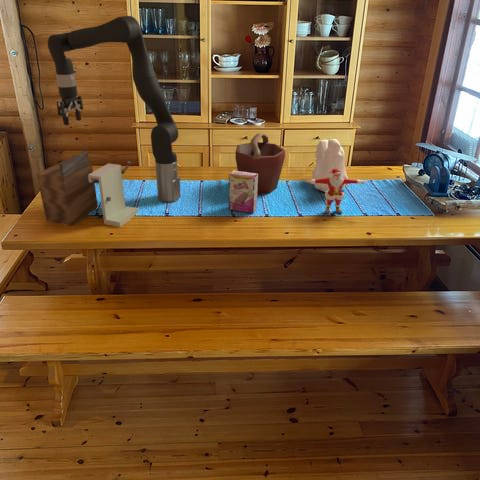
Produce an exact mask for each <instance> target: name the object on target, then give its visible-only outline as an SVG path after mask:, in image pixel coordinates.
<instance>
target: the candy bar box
mask: <svg viewBox="0 0 480 480" xmlns="http://www.w3.org/2000/svg"><path fill="white" fill-rule="evenodd" d="M228 177H229V178H228V179H229V181H228V182H229V183H228V210H229V211H235V212H241V213H247V214H254V213H255V212H256V211H257V208H258V194H257V188H258V174H256V173H249V172H242V171H238V170H234V169H233V170H231V171H230V173H229V174H228Z"/></svg>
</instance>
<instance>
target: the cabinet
mask: <svg viewBox="0 0 480 480" xmlns="http://www.w3.org/2000/svg"><path fill="white" fill-rule="evenodd" d="M92 172H94V170H93V163H92V162H90V159H89V152H88V151H86V150H85V151H82V152H79V153H78V154H76V155H74V156H72V157H70V158H68V159H66V158H65V159H64V160H62V161H59V163H56V164H54V165H52V166H50V167H48V168H46V169H43V170H41V171H40V172H37V173H36V176H37V180H38V186H39V191H40V196H41V200H42V201H41V202H42V207H43V211H44V216H45V217H44V218H45V221H46V222H49V223H50V222H51V223H54V224H55V223H56V224H60V225H66V226H69V227H70V226H71V227H72V226H74V225H75V224H76V223H78V222H80V221H81V220H82V219H84V218H85V217H86V216H88V215H89V213H90V212H91V213H93V212H94V211H96V210H97V209H98V208H99V205H98V199H97V192H96V185H95V184H96V183H95V182H96V181H93V182H91V183H90V182H89V179H88V175H89V174H90V173H92ZM97 207H98V208H97ZM96 208H97V209H96ZM95 209H96V210H95ZM93 210H94V211H93ZM92 211H93V212H92ZM91 213H90V214H91Z"/></svg>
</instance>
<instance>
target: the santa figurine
mask: <svg viewBox="0 0 480 480" xmlns="http://www.w3.org/2000/svg"><path fill="white" fill-rule="evenodd" d="M331 172H333V173H332V174H333V177H330V178H323V179H313V178H312V179H309V180H305V182H304V183H308V184H311V185H312V184H313V185H314V184H315V183H321V184H328V187H329V190H328V191H326V192H325V193H324V197H325V200H326V203H325V207H326V208H325V210H324V214H330V209H331V207H332V204H333V203H334V202H335V203H334V207H335V213H337V214H342V213H343V210H341V208H340V207H341V203H342V200H343V199H344V198H345V192H343V191H342V190H343V189H344V188H343V186H344V184H348V185H350V184H351V185H352V184H356V185H361V184H362V185H365V183H367V182H366V181H365V180H360V179H358V178H357V179H354V178H348V179H347V178H342V177H341V176H340V175H341V171H340V170H339V169H333V170H332V171H331ZM331 172H329V173H331ZM342 188H343V189H342ZM341 189H342V190H341Z"/></svg>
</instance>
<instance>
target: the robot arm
mask: <svg viewBox="0 0 480 480" xmlns="http://www.w3.org/2000/svg"><path fill="white" fill-rule="evenodd" d="M104 43H122V44H123V43H124V44H126V45H127V48H128V51H129V53H130V57H131V63H132V64H131V66H132V68H131V70H132V71H131V72H132V73H131V74H132V75H131V76H132V80H133V83H134V85H135V88H136V91H137V94H138V96H139V98H140V99H141V100H142V101H143V102H144V104H145V105H146V106H147V107H148V108H149V109H150V111H151V112H152V114H153V116H154V118H155V121H156V125H155V126H154V127H153V128H152V130H151V132H150V142H151V143H150V144H151V150H152V155H153V158H154V162H155V163H154V164H155V176H156V191H157V199H158V201H161V202H164V203H165V202H166V203H171V202H173V203H175V202H176V201H178V200H179V199H180V198H181V193H182V192H181V178H180V176H179V173H178V156H177V153H175V152H174V151H173V146H172V145H173V144H174V143H175V142H176V141H177V140H178V139H179V138H178V137H179V130H178V125H177V124H176V121H175V120H174V118H173V116H172V113H171V112H170V109H169V107H168V105H167V102H166V99H165V96H164V94H163V92H162V88H161V86H160V82H159V80H158V78H157V74H156V72H155V69H154V67H153V63H152V61H151V59H150V56H149V53H148V49H147V47H146V43H145V39H144V34H143V31H142V28H141V25H140V23H139V21H138V20H137V19H136V18H135V17H133V16H131V15H124V16H117V17H115V18H114V19H111V20H110V21H107V22H105V23H102V24H100V25H97V26H90V27H83V28H79V29H74V30H71V31H70V32H68V31H67V32H63V33H55V34H51V35H50V36H49V37H48V38H47V48H48V51H49V53H50V56H51V58H52V61H53V63H54V68H55V73H56V83H57V84H56V85H57V89H58V96H59V97H60V98H61V100H60V101H59V100H58V101H56V108H57V115H58V116H59V117H62V123H63V124H64V126H69V125H70V121H69V116H68V115H69V113H70V112H71V110H72V109H73V110H74V114H75V115H74V116H75V120H76V121H82V115H81V112H82V110H84V104H83V100H82V95H79V94H78V87H77V82H76V76H75V72H74V66H73V65H74V64H73V61H72V59H70V58H67V57H66V54H65V53H66V52H71V51H74V50H81V49H86V48H92V47H94V46H97V45H100V44H104Z"/></svg>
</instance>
